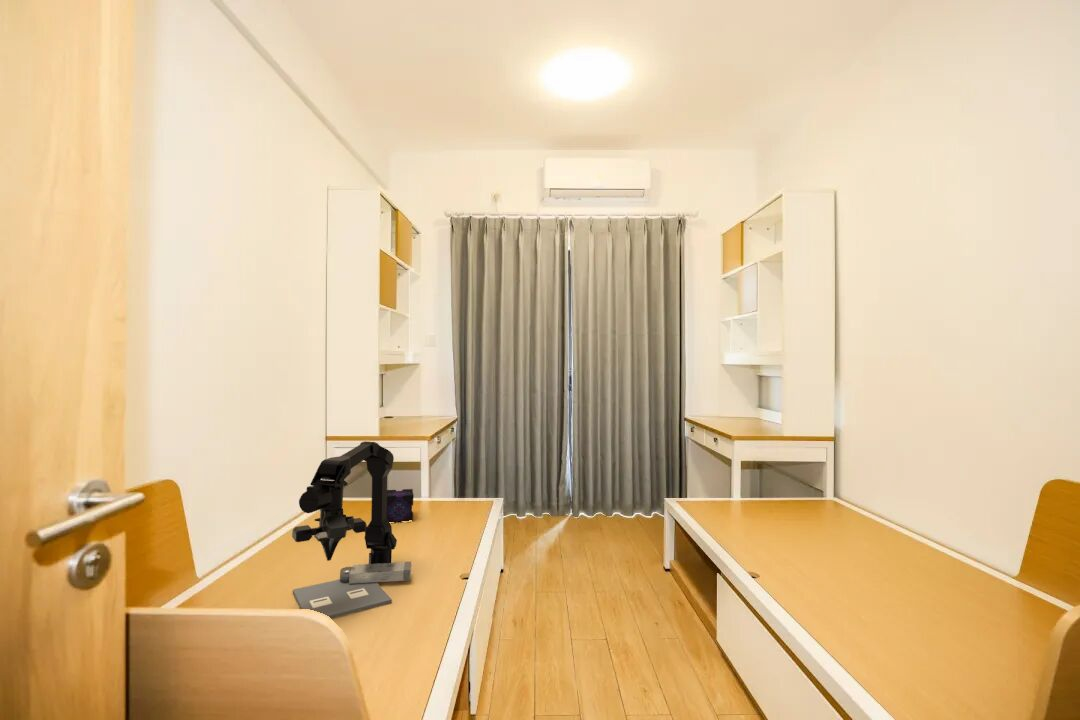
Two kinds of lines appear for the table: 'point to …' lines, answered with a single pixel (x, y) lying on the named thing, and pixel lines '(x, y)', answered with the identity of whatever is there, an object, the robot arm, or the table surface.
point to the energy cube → (399, 505)
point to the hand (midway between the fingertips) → (328, 560)
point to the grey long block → (376, 572)
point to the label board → (341, 597)
